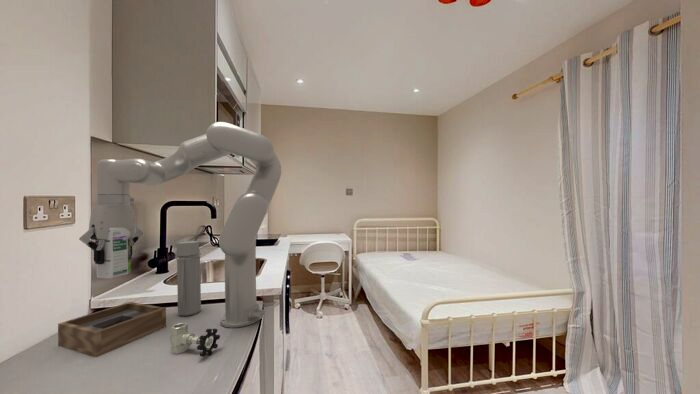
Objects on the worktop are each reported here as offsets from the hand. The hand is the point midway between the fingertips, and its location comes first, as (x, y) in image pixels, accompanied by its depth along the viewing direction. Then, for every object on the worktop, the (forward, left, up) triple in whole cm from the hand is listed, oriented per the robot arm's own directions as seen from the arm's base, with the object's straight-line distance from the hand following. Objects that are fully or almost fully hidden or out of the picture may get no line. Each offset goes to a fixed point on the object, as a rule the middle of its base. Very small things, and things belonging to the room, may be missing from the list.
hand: (113, 260), depth 83 cm
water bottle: (-6, -19, -22) cm, 30 cm away
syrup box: (0, 0, -5) cm, 5 cm away
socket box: (0, 0, -22) cm, 22 cm away
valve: (-31, -1, -22) cm, 38 cm away
